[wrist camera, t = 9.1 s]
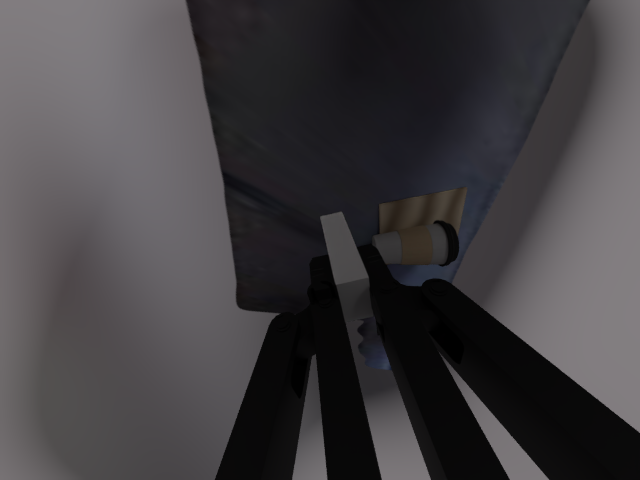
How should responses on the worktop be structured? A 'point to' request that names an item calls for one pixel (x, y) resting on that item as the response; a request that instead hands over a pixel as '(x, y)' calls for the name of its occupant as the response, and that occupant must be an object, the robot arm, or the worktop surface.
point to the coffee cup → (419, 245)
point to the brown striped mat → (423, 211)
